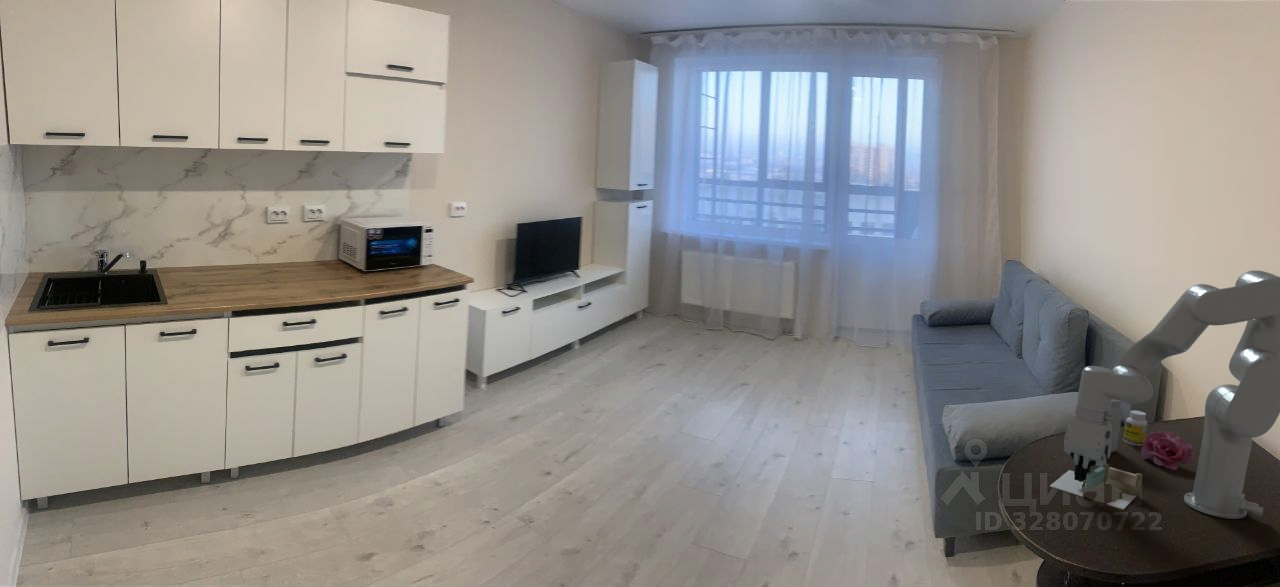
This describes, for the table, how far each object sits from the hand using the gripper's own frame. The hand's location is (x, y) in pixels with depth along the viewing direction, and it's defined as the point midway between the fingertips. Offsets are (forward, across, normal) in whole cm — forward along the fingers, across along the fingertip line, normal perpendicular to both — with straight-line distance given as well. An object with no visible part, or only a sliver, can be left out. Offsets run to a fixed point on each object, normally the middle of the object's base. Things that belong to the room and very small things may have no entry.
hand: (1080, 479), depth 199 cm
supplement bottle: (+2, +12, -46) cm, 48 cm away
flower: (+2, -1, -38) cm, 38 cm away
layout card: (+2, -3, -2) cm, 4 cm away
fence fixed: (+2, -6, -7) cm, 10 cm away
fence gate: (+1, -3, -1) cm, 3 cm away
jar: (+2, +14, -31) cm, 34 cm away
